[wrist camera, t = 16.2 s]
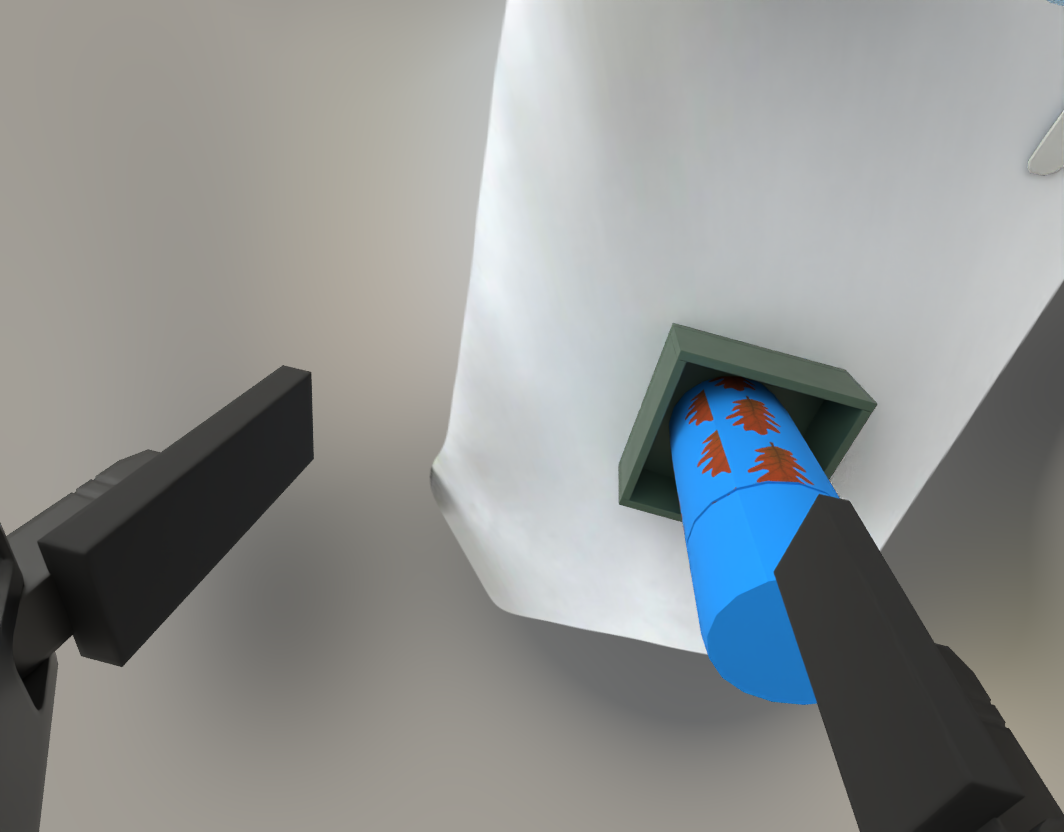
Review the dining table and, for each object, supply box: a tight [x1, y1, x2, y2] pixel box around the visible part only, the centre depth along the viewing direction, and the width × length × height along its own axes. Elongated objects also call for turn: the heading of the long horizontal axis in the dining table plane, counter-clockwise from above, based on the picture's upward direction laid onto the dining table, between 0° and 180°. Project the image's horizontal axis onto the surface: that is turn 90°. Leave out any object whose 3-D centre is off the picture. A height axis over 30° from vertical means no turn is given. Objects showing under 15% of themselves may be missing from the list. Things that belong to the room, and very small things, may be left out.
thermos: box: [669, 376, 840, 705], centre depth 40 cm, size 11×11×25 cm
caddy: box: [619, 323, 877, 522], centre depth 49 cm, size 16×16×7 cm
